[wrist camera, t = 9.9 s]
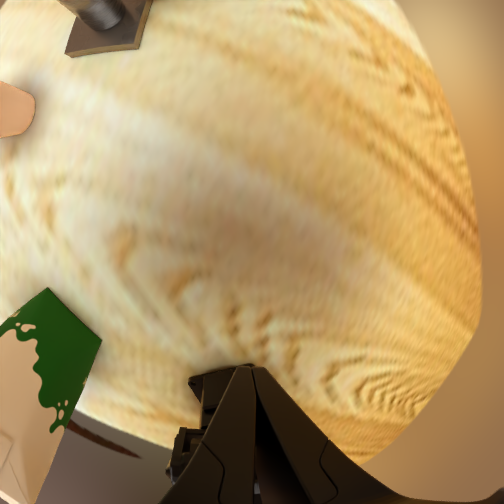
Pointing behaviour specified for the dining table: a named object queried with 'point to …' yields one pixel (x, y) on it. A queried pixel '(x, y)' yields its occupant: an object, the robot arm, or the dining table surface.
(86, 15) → the hinge post
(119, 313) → the dining table surface
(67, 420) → the milk carton
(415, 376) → the dining table surface
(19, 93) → the smoothie
